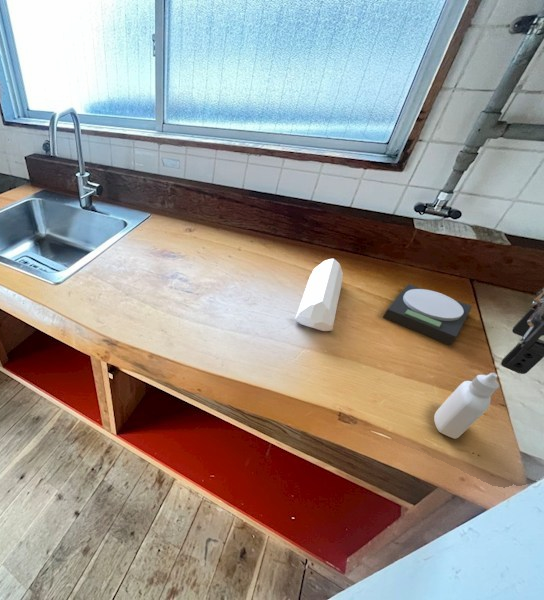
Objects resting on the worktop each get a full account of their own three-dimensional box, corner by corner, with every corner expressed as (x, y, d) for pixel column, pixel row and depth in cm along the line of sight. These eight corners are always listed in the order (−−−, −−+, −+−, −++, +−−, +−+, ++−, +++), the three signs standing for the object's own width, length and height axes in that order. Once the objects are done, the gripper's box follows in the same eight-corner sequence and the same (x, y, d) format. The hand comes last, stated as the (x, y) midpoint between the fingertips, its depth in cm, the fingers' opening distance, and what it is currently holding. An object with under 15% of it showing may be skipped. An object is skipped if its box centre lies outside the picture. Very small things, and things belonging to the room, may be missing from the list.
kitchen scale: (466, 314, 71) (474, 303, 69) (449, 345, 64) (458, 333, 62) (403, 291, 79) (409, 280, 77) (382, 317, 71) (389, 306, 69)
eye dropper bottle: (473, 428, 50) (526, 379, 43) (450, 442, 48) (501, 394, 41) (443, 406, 53) (487, 357, 46) (420, 419, 52) (463, 369, 44)
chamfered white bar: (346, 328, 63) (355, 270, 79) (317, 304, 64) (332, 252, 80) (316, 344, 69) (330, 287, 85) (290, 322, 69) (309, 270, 85)
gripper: (710, 278, 25) (553, 402, 35) (688, 223, 32) (564, 339, 42) (569, 246, 30) (466, 363, 39) (578, 204, 37) (489, 312, 47)
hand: (517, 350), depth 41 cm, fingers open, 8 cm apart
